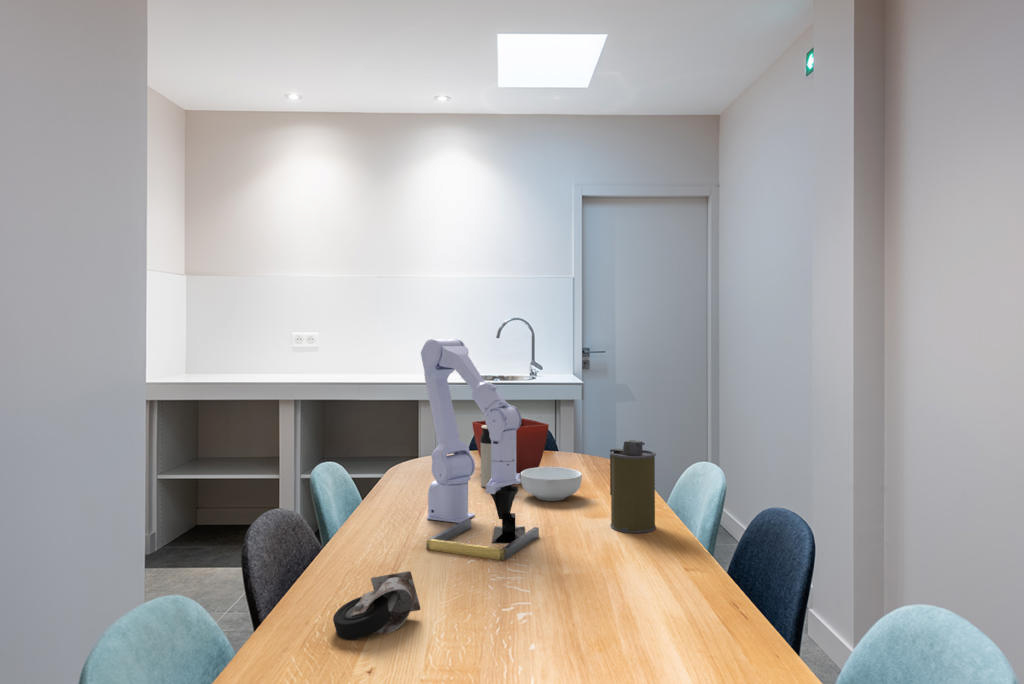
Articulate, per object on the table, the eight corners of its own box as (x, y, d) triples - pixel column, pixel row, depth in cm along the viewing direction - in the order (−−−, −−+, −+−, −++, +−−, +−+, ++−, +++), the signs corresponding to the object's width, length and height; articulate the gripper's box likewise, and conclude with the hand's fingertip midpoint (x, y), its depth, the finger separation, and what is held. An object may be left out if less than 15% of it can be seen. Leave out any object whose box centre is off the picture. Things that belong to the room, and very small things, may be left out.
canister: (664, 526, 158) (664, 441, 158) (640, 536, 150) (639, 446, 150) (625, 518, 166) (624, 436, 165) (600, 527, 158) (599, 441, 158)
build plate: (524, 544, 146) (524, 522, 145) (490, 544, 146) (490, 522, 146) (524, 527, 158) (524, 507, 158) (493, 527, 158) (493, 507, 158)
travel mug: (512, 485, 204) (512, 425, 204) (497, 490, 197) (497, 428, 197) (490, 482, 208) (490, 423, 208) (475, 486, 202) (475, 426, 202)
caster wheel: (332, 657, 99) (355, 619, 109) (405, 645, 98) (422, 608, 107) (320, 615, 98) (344, 580, 108) (394, 602, 97) (411, 569, 106)
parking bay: (426, 549, 142) (426, 539, 142) (467, 527, 158) (467, 518, 158) (504, 560, 134) (504, 550, 134) (538, 536, 150) (538, 527, 150)
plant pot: (496, 482, 208) (496, 427, 208) (471, 472, 225) (471, 421, 225) (550, 476, 216) (550, 424, 216) (521, 466, 233) (521, 418, 233)
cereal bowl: (511, 501, 183) (511, 475, 183) (532, 489, 199) (532, 465, 199) (571, 507, 177) (571, 480, 177) (588, 494, 192) (588, 469, 192)
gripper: (506, 466, 147) (506, 529, 147) (532, 455, 160) (532, 513, 160) (477, 464, 150) (477, 525, 150) (504, 453, 163) (505, 510, 163)
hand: (503, 518), depth 155 cm, fingers closed
